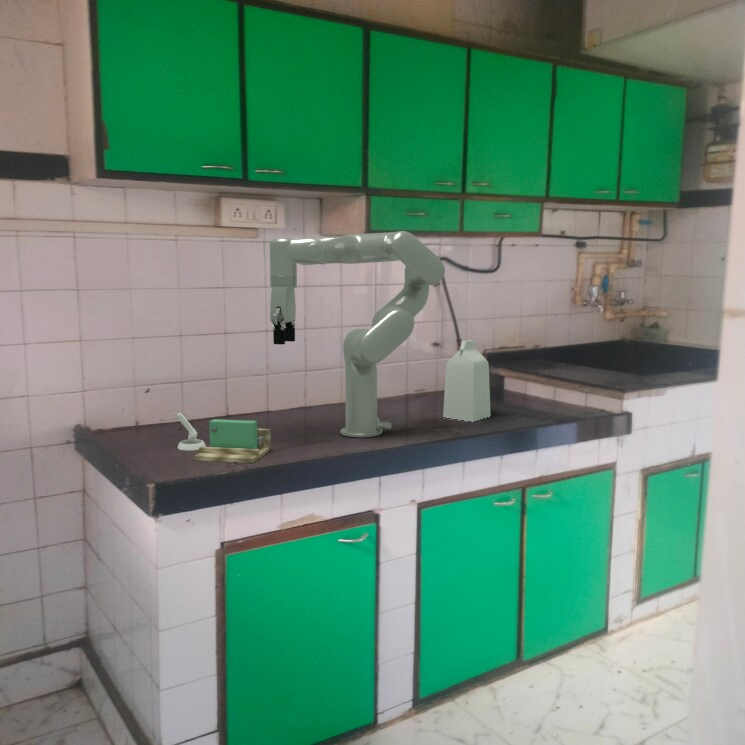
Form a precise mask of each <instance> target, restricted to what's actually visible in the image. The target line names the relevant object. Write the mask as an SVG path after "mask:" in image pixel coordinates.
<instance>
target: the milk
mask: <svg viewBox="0 0 745 745" xmlns="http://www.w3.org/2000/svg"><path fill="white" fill-rule="evenodd" d="M445 365H446V366H445V377H444V378H445V380H444V395H443V396H444V397H443V398H444V399H443V412H442V415H443V416H442V418H443V417H446V418H452V419H451V420H453V419H458V420H457V421H460V420H464V421H463V422H468V421H471V422H470V423H475V422H474V421H476V422H478V421H477V420H479V421H481V420H480V419H482V420H484V419H483V418H485V419H487V417H488V418H490V416H491V394H490V392H491V391H490V390H491V389H490V367H489V366H490V365H489V362H488V360H487V358H485V357H484V355H483V354H481V352H480V351H479V350H478V349H477V348H476V343H475V339H473V340H472V339H470V340H462V341H461V344H460V347H459V350H458V351H457V352H456V353H455V354H454V355H453V356H452V357H450V359H449V360H448V361H447V362H446V364H445Z"/></svg>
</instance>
